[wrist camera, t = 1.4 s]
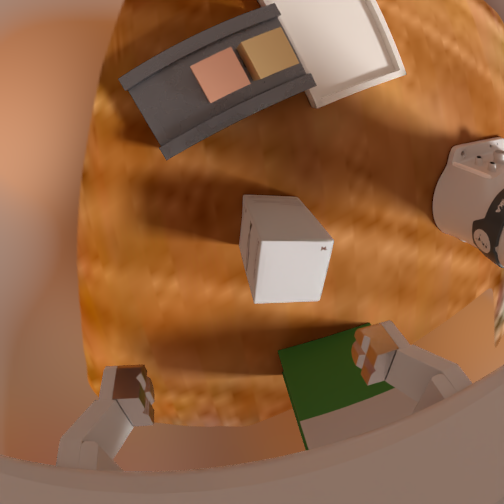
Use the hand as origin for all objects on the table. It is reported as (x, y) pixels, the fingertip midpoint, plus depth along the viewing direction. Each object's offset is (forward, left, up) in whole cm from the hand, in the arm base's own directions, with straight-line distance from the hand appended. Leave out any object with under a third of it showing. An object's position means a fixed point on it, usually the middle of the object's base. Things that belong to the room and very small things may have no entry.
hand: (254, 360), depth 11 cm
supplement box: (-3, +10, -29) cm, 31 cm away
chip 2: (-5, -9, -25) cm, 27 cm away
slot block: (-5, -9, -29) cm, 31 cm away
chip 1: (-10, -9, -25) cm, 29 cm away
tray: (-21, -9, -29) cm, 37 cm away
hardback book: (-2, +39, -29) cm, 48 cm away
